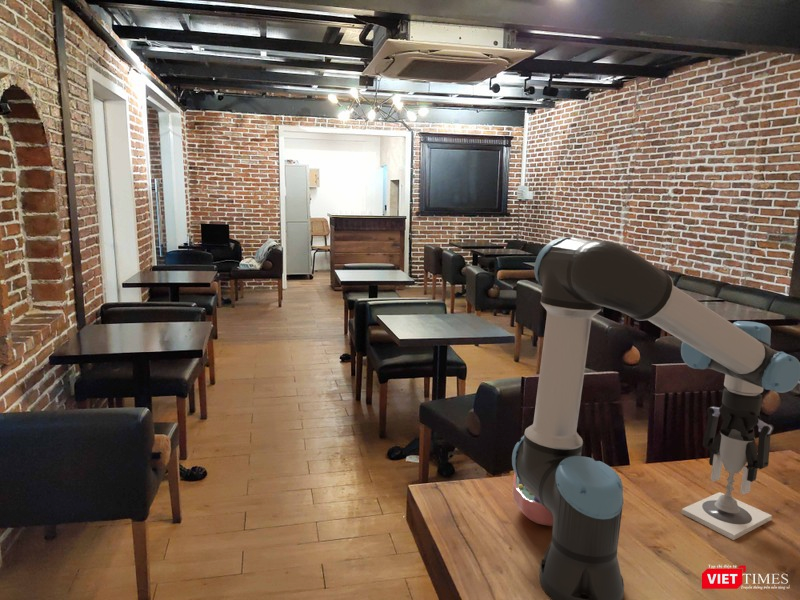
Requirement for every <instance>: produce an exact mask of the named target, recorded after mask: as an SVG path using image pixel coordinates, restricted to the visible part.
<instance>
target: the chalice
mask: <svg viewBox="0 0 800 600" xmlns="http://www.w3.org/2000/svg"><path fill="white" fill-rule="evenodd" d="M720 433H721V432H720ZM754 439H755V436H754ZM755 440H756V439H755ZM748 442H753V440H752V441H743V438H742V437H741V433H740V432H739V431H737V430H735V429H732V430H731V431H730V433H729V435H728V437H727V436H725V435H723V434H722V433H721V442H720V450H719V452H720V455H721V460H722V466H723V467H724V470H725V471H726V472H727V473H728V476H727V479H726V481H727V484H726V485H725V489H726V493H724V494H725V495H721V496H720V497H719V499H718V500H717V501H716V502H715V506H716V507H717V508H718V509H720V510H722V511H725V512H729V513H738V512H739V511H740V510H739V508H738V504H737V501H736V500H735V499H736V498H735V497H733V496H732V492H733V491H734V486H733V484H734V482H736V481H735V479H734V476H735V474H739V473H741V471H742V470H743V469H744V466H746V465H747V464H748V463H747V458H746V453H745V451H746V445H747V443H748Z"/></svg>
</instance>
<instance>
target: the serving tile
mask: <svg viewBox="0 0 800 600" xmlns="http://www.w3.org/2000/svg"><path fill="white" fill-rule="evenodd" d="M725 494H726V493H723V492H720V491H719V492H717V493H715V494H712V495H710V496H708V497H704V498H703V499H701V500H699V501H696V502H694V503H692V504H689V505H687V506H685V507H683V508H681V512H680V514H681V515H683V516H685V517H688V518H690V519H691V520H693V521H696V522H697V523H699V524H701V525H703V526H705V527H707V528H708V529H711V530H713V531H715V532H717V533H719V534H720V535H723V536H724V537H726V538H728V539H730V540H732V541H735V540H736V539H739V538H740V537H742V536H744V535H746V534H748V533H750V532H751V531H753V530H755V529H757V528H759V527H761V526H762V525H763V526H764V525H765V524H767V523H768V522H770V521H772V516H773V515H772V514H769V513H768V512H765V511H763V510H761V509H759V508H757V507H754V506H753V505H750V504H747V503H746V502H743V501H741V500H739V499H736V498H735V500H736V501H737V504H738V508H739V510H740V511H739V512H738V513H729V512H725V511H722V510H720V509H718V508H717V507H716V506H715V502H716V501H717V500H718V499H719V497H720V496H721V495H725Z"/></svg>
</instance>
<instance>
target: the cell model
mask: <svg viewBox="0 0 800 600" xmlns="http://www.w3.org/2000/svg"><path fill="white" fill-rule="evenodd" d="M512 480H513V481H512V496H513V501H514V502H515V505H516V506H517V507H518V509H519V511H521V512H522V514H523V515H524V516H525V517H526V518H527V519H528V520H530V521H532V522H534V523H535V524H537V525H541V526H542V525H543V526H548V527H552V528H553V516H552V514H551V513H550V512H549V511H548V510H547V509H546V508H545V507H544V506H543V504H542V503H541V502H540V501H539V500H538V499H537V498H536V497H535V496H534V495H533V494H532V493H531V492H530V491H528V490H527V489H526V488H525V487H524V486H523V485H522V484H521V482H520V480H519V479H518V477H517V476H516V474H515V472H514V474H513V479H512Z"/></svg>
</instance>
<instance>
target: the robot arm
mask: <svg viewBox="0 0 800 600" xmlns="http://www.w3.org/2000/svg"><path fill="white" fill-rule="evenodd" d="M533 268H534V269H533V270H534V276H535V280H536V281H537V282H538V283H537V284H538V285H539V286H540V287H541V293H540V294H541V295H540V296H541V297H540V305H542V307H543V308H544V309H545V310H546V320H545V328H544V333H543V342H542V352H541V357H540V358H541V360H540V366H539V367H540V368H539V374H538V375H539V376H538V382H537V383H538V384H537V392H536V399H535V407H534V408H535V409H534V416H533V423H532V424H531V425H529V426H528V427H526V428H525V430H524V434H523V435H522V436H521V437H520V441H517V442H516V444H515V445H514V448H513V450H512V455H511V465H512V469H513V472H514V473H515V474H516V476H517V477H518V479H519V480H520V482H521V484H522V485H523V486H524V487H525V488H526V489H527V490H528V491H530V492H531V493H532V494H533V495H534V496H535V497H536V498H537V499H538V500H539V501H540V502H541V503H542V504H543V506H544V507H545V508H546V509H547V510H548V511H549V512H550V513H551V514H552V516H553V527H552V532H551V541H550V543H549V545H548V547H547V549H546V551H545V553H544V555H543V557H542V560H541V562H540V566H539V576H538V577H539V578H538V579H539V580H538V581H539V584H540V586H541V587H542V590H543V591H544V592H545V594H546V595H547V596H549V598H551V599H552V600H624V594H625V593H624V592H625V582H624V578H623V576H622V573H621V569H620V562H619V559H618V548H619V547H618V546H619V539H620V532H621V531H620V529H621V523H622V516H623V515H622V514H623V508H624V507H623V506H624V486H623V481H622V478H621V477H620V475H619V474H618V473H617V471H615V470H614V469H613V468H612V467H611V466H610V465H608V464H606V463H604V462H603V461H600V460H595V458H592V457H588V456H582V452H583V451H582V450H583V444H584V441H583V438H582V437H581V435H579V433H578V432H577V428H578V421H579V414H580V407H581V400H582V392H583V385H584V377H585V371H586V364H587V363H586V362H587V356H588V355H587V354H588V349H589V348H588V347H589V341H590V340H589V339H590V333H591V326H592V319H593V317H594V316H595V315H597V314H598V313H600V312H601V311H602V307H605V308H607V309H611V310H614V311H618V312H620V313H622V314H625V315H627V316H629V317H630V318H632V319H634V320H636V321H640V322H641V321H648V322H650V323H651V324H653V325H655V326H656V327H658V328H660V329H661V330H663V331H665V332H666V333H668V334H670V335H672V337H673V336H674V337H675V338H677V339H678V340H679V341H681V342H682V343H681V346H680V354H681V359H682V360H683V363H684V364H686V366H688V367H689V368H692V369H694V370H695V369H696V370H706V369H709V370H713V371H716V372H719V373H721V374H724V380H723V381H724V382H723V386H724V388H723V389H722V396H721V397H722V398H721V406H720V407H718V406H714V405H713V406H710V407H708V408H706V413H707V421H706V425H705V430H704V436H703V441H702V447H703V448H705V449H707V450H708V451H709V461H708V462H709V463H708V464H709V465H710V466H712V467H711V475H710V481H711V482H713V483H714V482H716V481H718V480H720V479H721V475H722V474H721V473H722V467H723V462H722V460H721V455H720V451H719V450H720V442H721V433H722V434H723V435H725V436H727V437H728V435H729V433H730V431H731V430H732V429H735V430H737V431H739V432H740V433H741V437H742V438H743V441H752V440H753V442H748V443H747V445H746V451H745V453H746V458H747V463H746V465H745V466H744V467H743V468H742V470H743V471H742V475H741V476H742V477H741V484H740V491H739V493H740V495H742V496H743V495H746V494H748V493H750V492H751V486H752V482H755V481H756V479H757V474H758V469H759V470H763V469H765V468H767V467H768V466H769V460H770V446H771V435H772V433H773V431H774V429H775V427H774V425H773V424H768V423H766V422H764V421H763V420H762V419H761V415H760V412H761V408H762V403H763V402H762V401H763V395H762V394H761V393H763V392H764V390H766V391H772V392H775V393H780V394H783V393H789V392H790V391H792V390H793V389H794V388H796V386H797V385H798V383H799V381H800V361H799V359H798V358H797V357H795V356H793V355H791V354H788V353H786V352H784V351H779V350H775V349H772V348H771V345H772V343H771V335H772V334H771V333H772V329H771V328H770V326H768V325H767V324H765V323H761V322H757V321H749V320H748V321H747V320H737V321H734V322H731V321H729V320H727V319H726V318H724V317H723V316H721V315H720V314H718V313H717V312H715V311H713V310H712V309H710V308H709V307H708V306H706V305H705V304H703V303H701V301H698V300H697V299H695V298H694V297H692V296H691V295H689V294H687V293H686V292H684V291H683V290H681V289H680V288H679V287H677V286H675V285H674V280H673V279H672V277H671V275H669V274H668V273H666V272H665V271H663V270H662V269H661V268H658V266H656V265H654V264H653V263H652V262H650V261H648V259H646V258H644V257H642V256H641V255H639V254H637V253H636V252H634V251H632V250H631V249H629V248H628V247H626V246H623V245H621V244H620V243H616V242H613V241H609V240H601V239H600V240H599V239H593V238H592V239H591V238H586V237H585V238H583V237H578V236H567V237H565V236H564V237H559V238H556V239H553V240H551V241H549V243H547V244H545V245H544V246H543V248H541V250H540V251H539V253H538V254H537V257H536V259H535V263H534V267H533ZM720 416H721V418H722V420H723V422H722V424H721V426H720V429H719V431H718V433H717V435H716V432H717V428H718V423H719V417H720ZM755 427H758V430H757V431H758V432H759V434H758V443H756V439H754V437H755ZM720 432H721V433H720ZM756 444H757V445H756Z"/></svg>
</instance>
